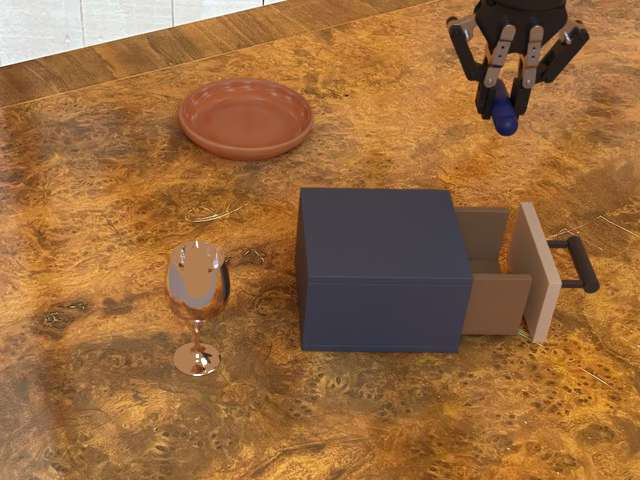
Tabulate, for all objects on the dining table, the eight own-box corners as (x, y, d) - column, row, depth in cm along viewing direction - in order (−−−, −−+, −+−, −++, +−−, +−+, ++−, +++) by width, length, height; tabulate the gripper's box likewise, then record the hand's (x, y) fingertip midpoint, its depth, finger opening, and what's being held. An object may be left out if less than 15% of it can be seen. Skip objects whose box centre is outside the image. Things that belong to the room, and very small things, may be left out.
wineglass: (187, 329, 101) (186, 229, 93) (239, 351, 99) (243, 250, 91) (153, 366, 97) (149, 264, 89) (207, 389, 95) (208, 287, 87)
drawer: (563, 260, 109) (580, 202, 104) (595, 343, 100) (615, 284, 95) (386, 257, 109) (395, 199, 104) (401, 341, 99) (411, 281, 95)
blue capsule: (479, 92, 109) (483, 73, 107) (501, 93, 109) (505, 73, 107) (495, 140, 102) (499, 120, 100) (518, 141, 102) (522, 121, 100)
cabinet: (435, 261, 110) (449, 189, 104) (457, 353, 100) (473, 278, 94) (294, 259, 110) (300, 186, 104) (301, 351, 99) (308, 276, 93)
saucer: (324, 165, 123) (326, 143, 121) (186, 173, 121) (185, 151, 119) (299, 95, 135) (300, 74, 133) (173, 101, 133) (172, 80, 131)
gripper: (463, -40, 91) (433, 134, 102) (624, -35, 91) (577, 138, 102) (450, -74, 97) (423, 94, 108) (602, -70, 97) (560, 98, 108)
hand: (498, 115), depth 105 cm, fingers closed on blue capsule, 2 cm apart
